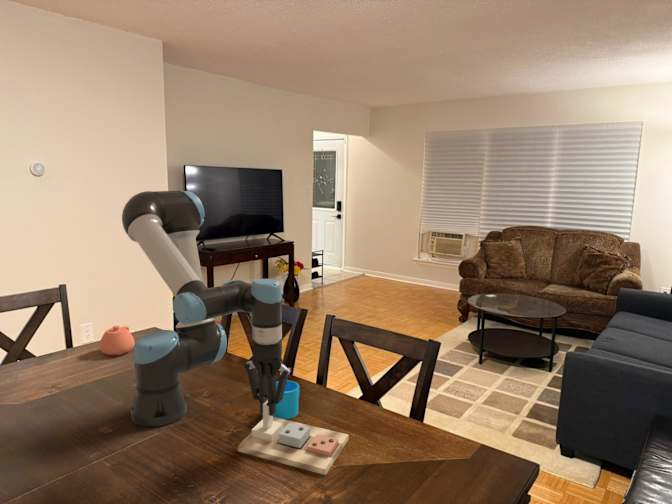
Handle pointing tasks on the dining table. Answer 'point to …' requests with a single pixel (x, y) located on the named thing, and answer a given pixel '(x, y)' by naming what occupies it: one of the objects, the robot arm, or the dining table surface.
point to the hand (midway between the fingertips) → (268, 425)
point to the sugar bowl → (116, 341)
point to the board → (295, 455)
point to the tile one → (267, 431)
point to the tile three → (323, 445)
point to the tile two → (294, 435)
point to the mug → (288, 401)
